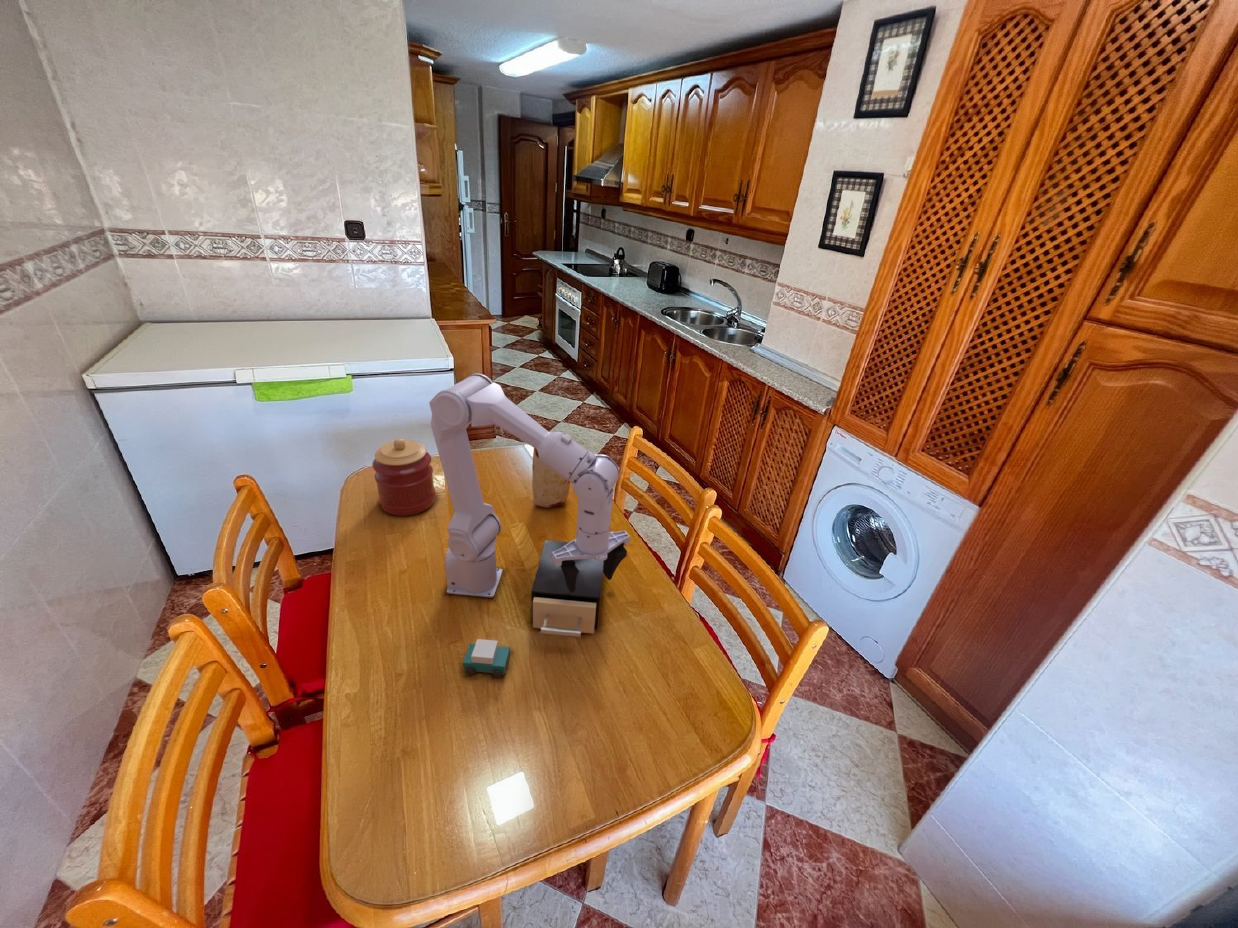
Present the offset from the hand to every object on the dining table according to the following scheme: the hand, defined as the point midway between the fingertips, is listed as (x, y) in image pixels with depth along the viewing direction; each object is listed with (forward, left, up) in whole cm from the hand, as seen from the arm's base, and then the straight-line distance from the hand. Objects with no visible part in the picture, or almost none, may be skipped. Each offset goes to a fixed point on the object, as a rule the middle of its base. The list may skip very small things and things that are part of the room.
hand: (589, 582), depth 92 cm
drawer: (-4, 0, -9) cm, 10 cm away
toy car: (-16, -12, -10) cm, 22 cm away
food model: (-13, +37, -10) cm, 40 cm away
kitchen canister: (-48, +32, -10) cm, 58 cm away
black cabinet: (-4, +5, -10) cm, 12 cm away
